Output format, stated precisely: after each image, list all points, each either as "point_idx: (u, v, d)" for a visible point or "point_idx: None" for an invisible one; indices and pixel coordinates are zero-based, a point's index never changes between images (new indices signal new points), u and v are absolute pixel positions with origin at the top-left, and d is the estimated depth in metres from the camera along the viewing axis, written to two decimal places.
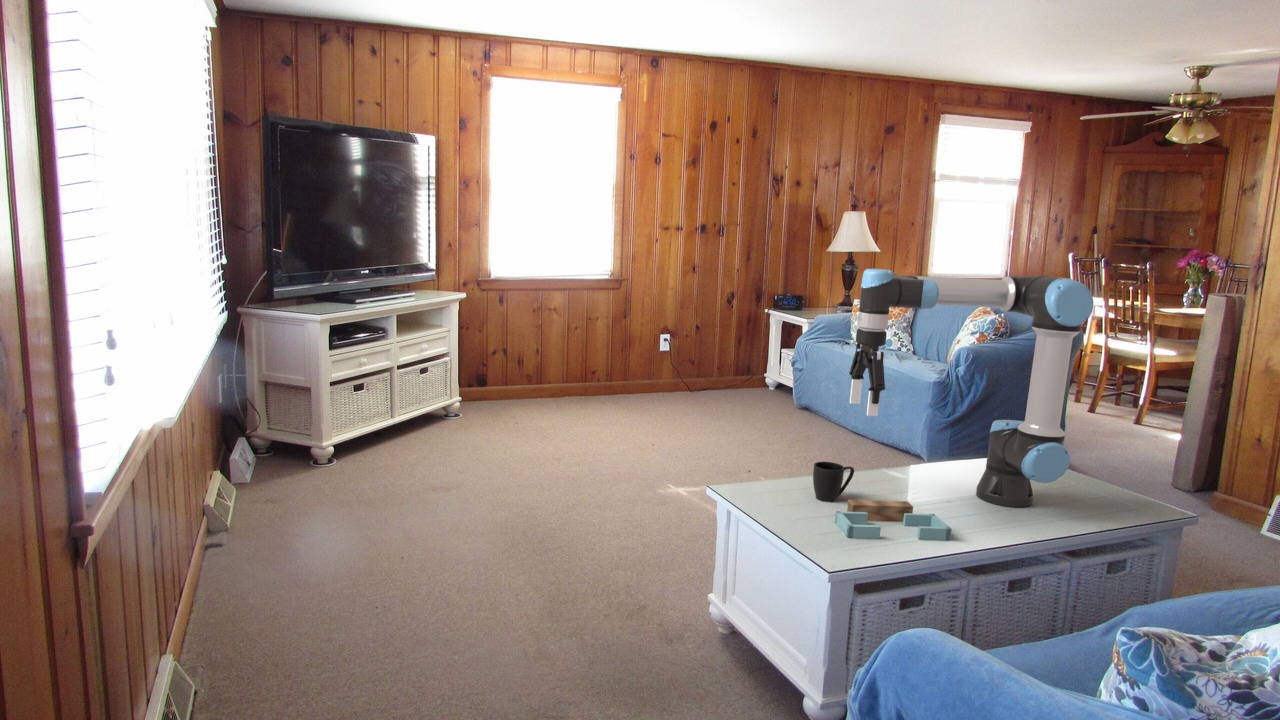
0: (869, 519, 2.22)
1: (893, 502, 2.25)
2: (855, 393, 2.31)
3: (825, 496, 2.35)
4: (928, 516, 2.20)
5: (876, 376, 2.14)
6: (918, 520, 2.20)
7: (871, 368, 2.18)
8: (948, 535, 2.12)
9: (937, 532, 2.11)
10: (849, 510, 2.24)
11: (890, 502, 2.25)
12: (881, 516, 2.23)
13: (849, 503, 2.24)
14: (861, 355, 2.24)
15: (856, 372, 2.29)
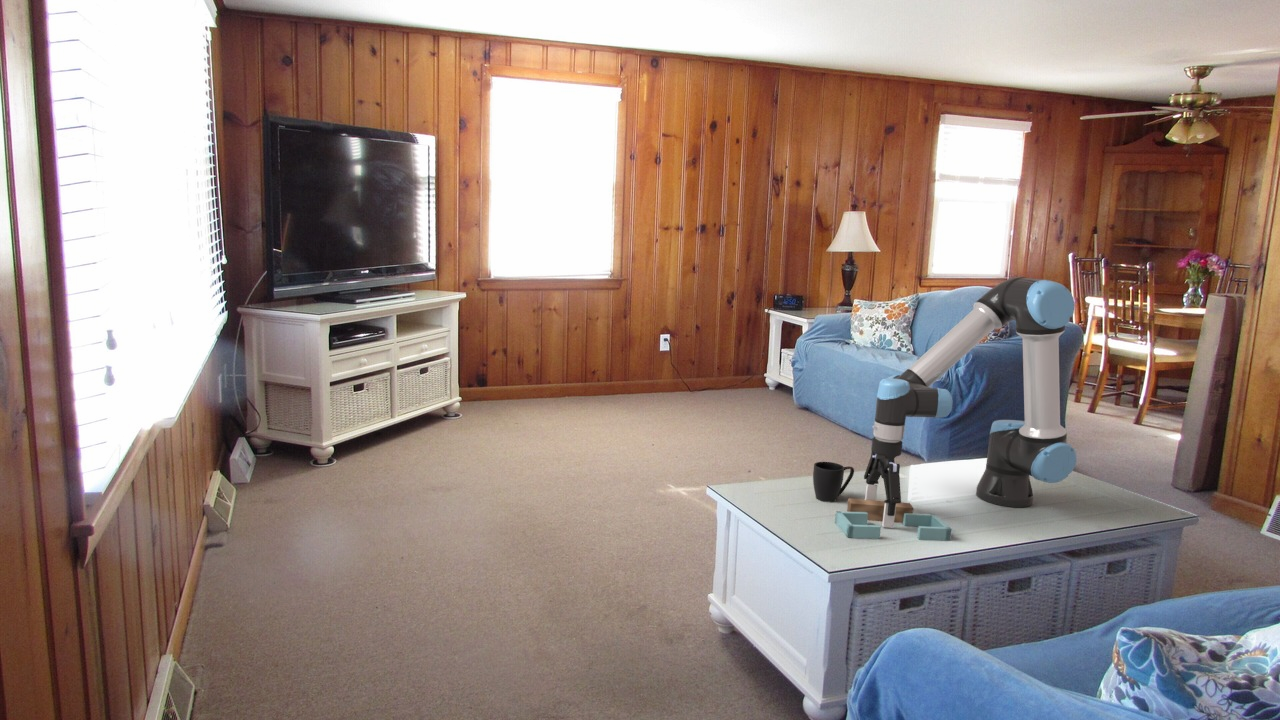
0: None
1: None
2: (869, 499, 2.30)
3: (825, 496, 2.35)
4: (928, 516, 2.20)
5: (892, 489, 2.14)
6: (918, 520, 2.20)
7: (887, 479, 2.18)
8: (948, 535, 2.12)
9: (937, 532, 2.11)
10: (848, 509, 2.25)
11: None
12: (880, 516, 2.23)
13: (848, 502, 2.25)
14: (876, 463, 2.23)
15: (871, 478, 2.29)
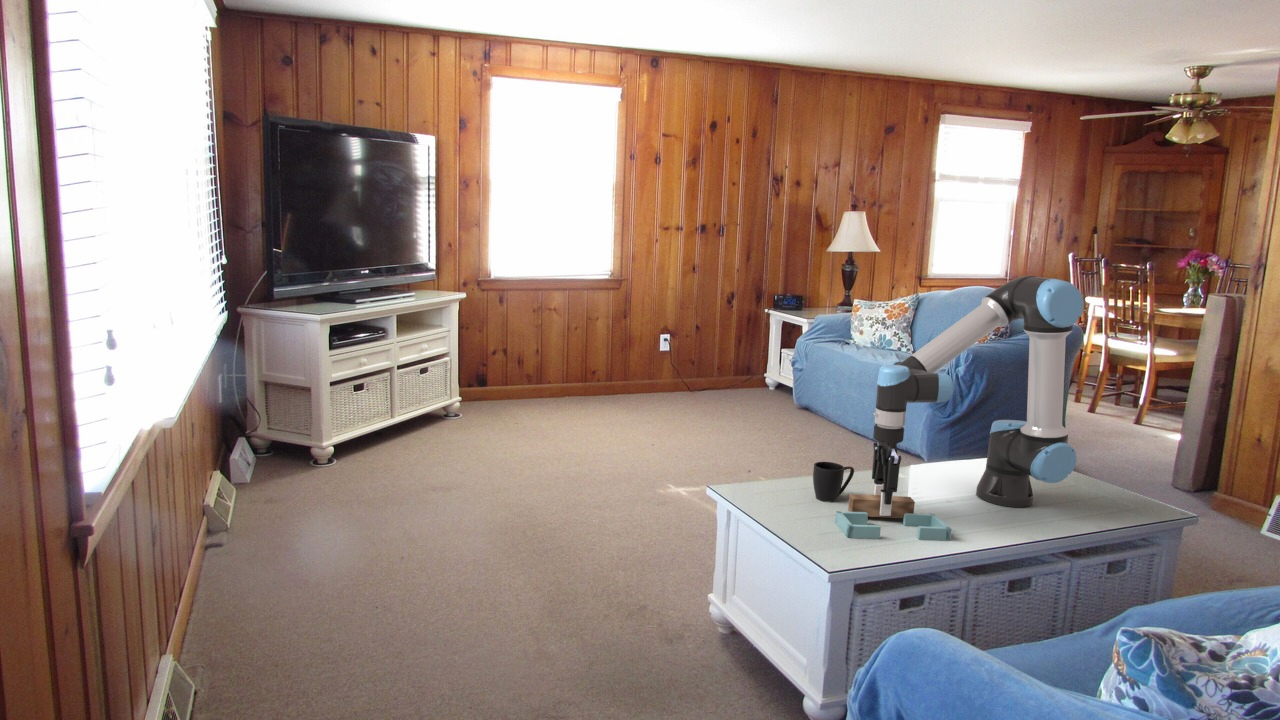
0: (870, 513, 2.23)
1: (895, 497, 2.25)
2: None
3: (825, 496, 2.35)
4: (928, 516, 2.20)
5: (890, 480, 2.17)
6: (918, 520, 2.20)
7: (887, 468, 2.19)
8: (948, 535, 2.12)
9: (937, 532, 2.11)
10: (850, 504, 2.25)
11: (892, 497, 2.25)
12: None
13: (850, 497, 2.25)
14: (879, 450, 2.22)
15: (878, 474, 2.25)
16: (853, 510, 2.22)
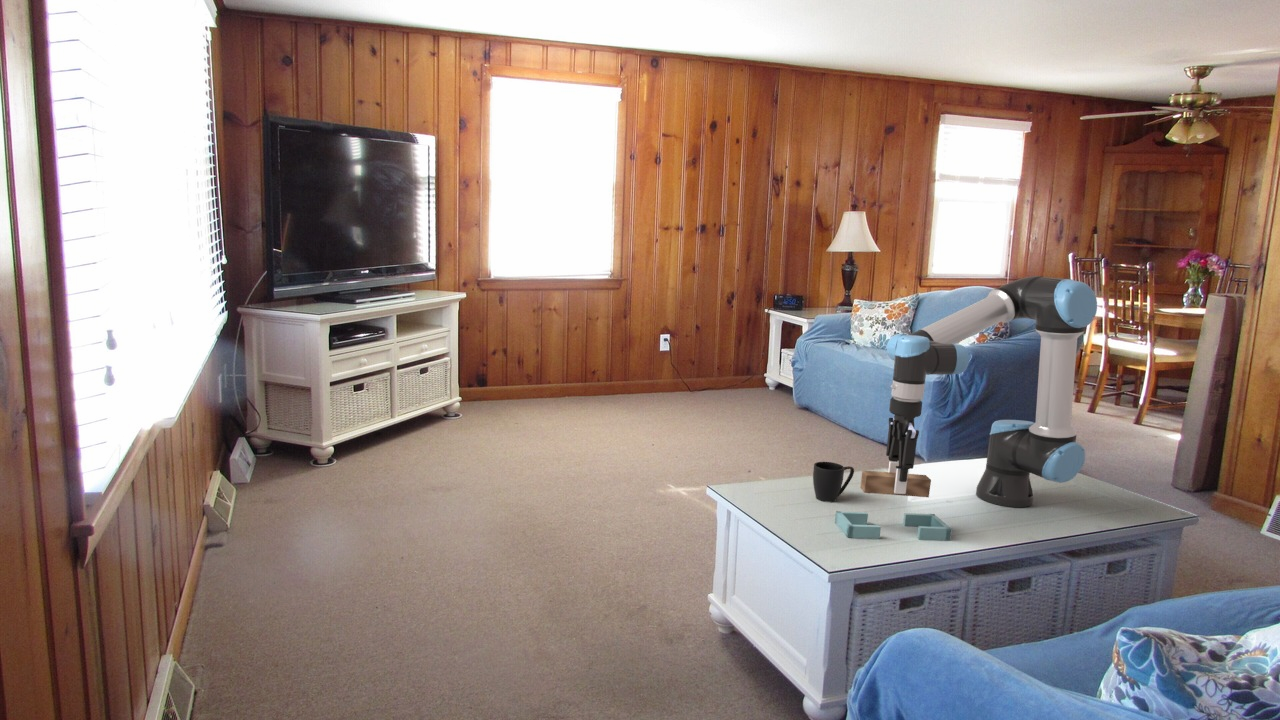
0: (883, 491, 2.12)
1: (910, 475, 2.14)
2: None
3: (825, 496, 2.35)
4: (928, 516, 2.20)
5: (906, 456, 2.06)
6: (918, 520, 2.20)
7: (903, 443, 2.09)
8: (948, 535, 2.12)
9: (937, 532, 2.11)
10: (863, 481, 2.14)
11: None
12: None
13: (863, 474, 2.14)
14: (895, 425, 2.12)
15: (893, 450, 2.15)
16: (866, 487, 2.12)
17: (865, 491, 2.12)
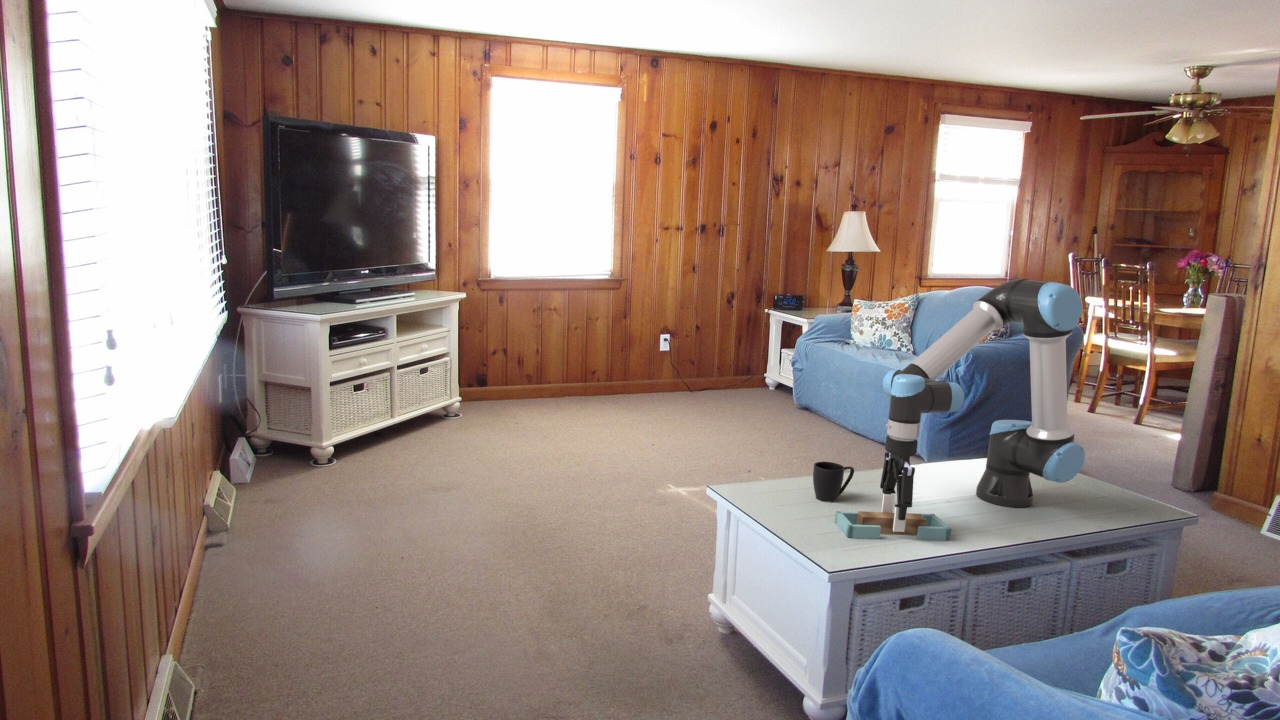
0: (880, 532, 2.14)
1: None
2: (886, 509, 2.19)
3: (825, 496, 2.35)
4: (928, 516, 2.20)
5: (904, 494, 2.07)
6: None
7: (900, 481, 2.10)
8: (948, 535, 2.12)
9: (937, 532, 2.11)
10: (859, 522, 2.16)
11: None
12: (892, 529, 2.14)
13: (859, 515, 2.16)
14: (891, 463, 2.14)
15: (887, 485, 2.17)
16: None
17: None
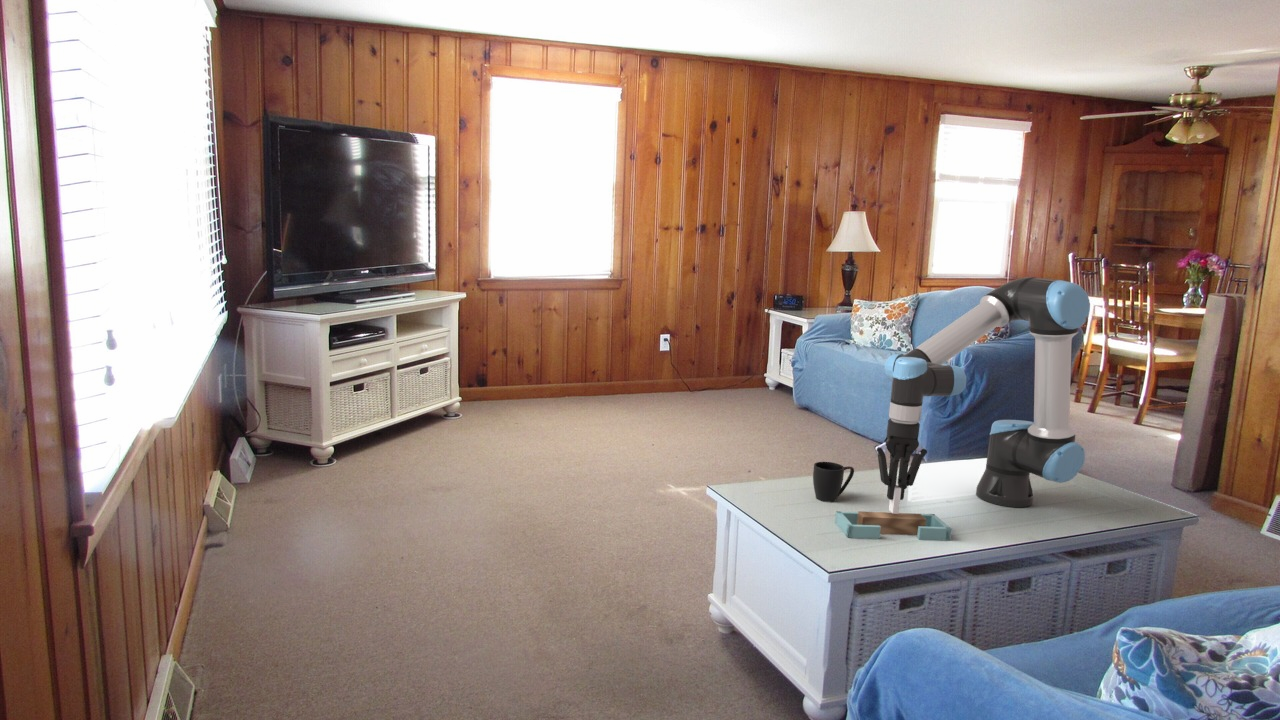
0: (880, 532, 2.14)
1: (905, 514, 2.16)
2: None
3: (825, 496, 2.35)
4: (928, 516, 2.20)
5: (880, 470, 2.14)
6: None
7: (890, 461, 2.13)
8: (948, 535, 2.12)
9: (937, 532, 2.11)
10: (859, 522, 2.15)
11: (902, 514, 2.16)
12: (892, 529, 2.14)
13: (859, 515, 2.16)
14: None
15: (899, 473, 2.14)
16: None
17: None
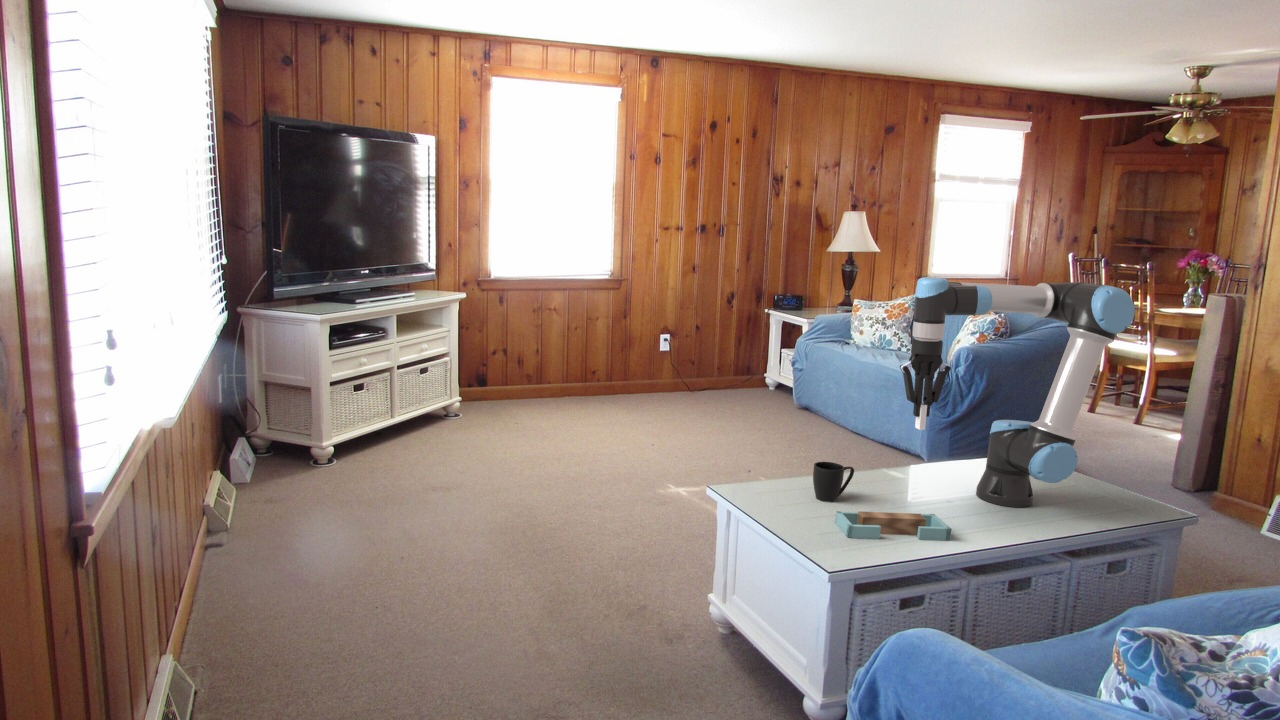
0: (880, 532, 2.14)
1: (905, 514, 2.16)
2: None
3: (825, 496, 2.35)
4: (928, 516, 2.20)
5: (905, 389, 2.21)
6: None
7: (915, 380, 2.21)
8: (948, 535, 2.12)
9: (937, 532, 2.11)
10: (859, 522, 2.15)
11: (902, 514, 2.16)
12: (892, 529, 2.14)
13: (859, 515, 2.16)
14: None
15: (924, 391, 2.21)
16: None
17: None
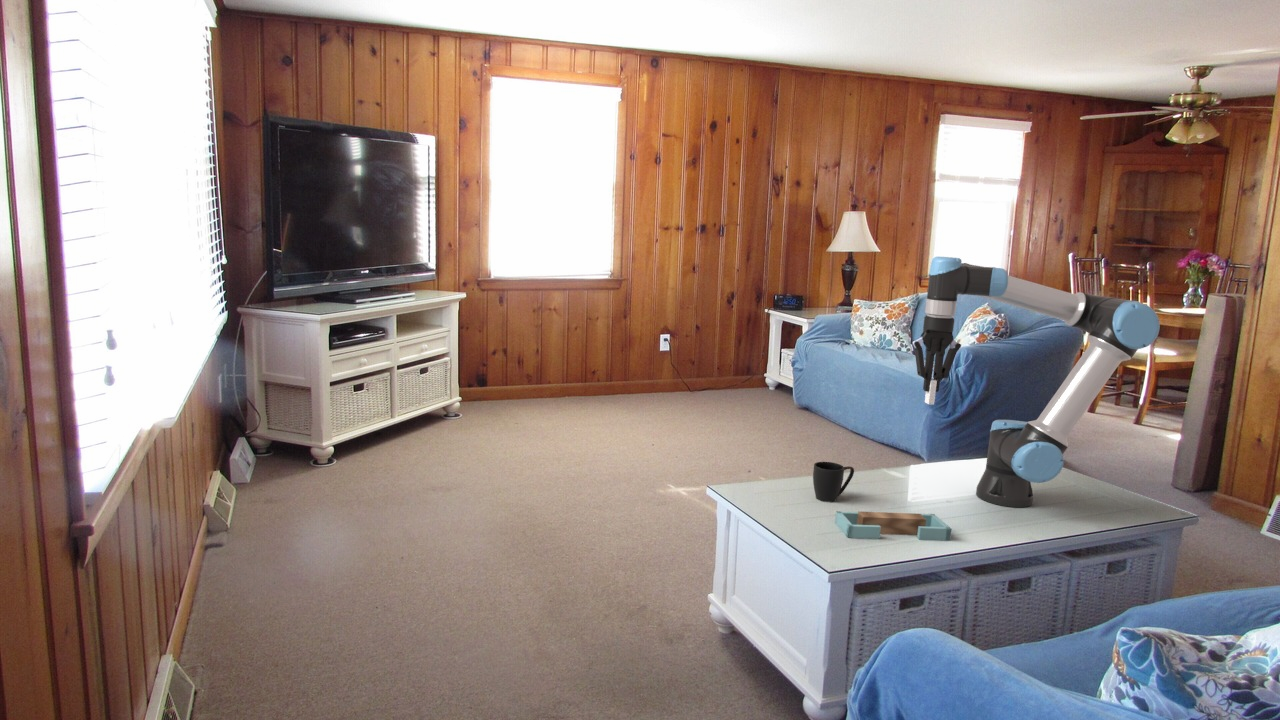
0: (880, 532, 2.14)
1: (905, 514, 2.16)
2: None
3: (825, 496, 2.35)
4: (928, 516, 2.20)
5: (916, 364, 2.28)
6: None
7: (926, 356, 2.28)
8: (948, 535, 2.12)
9: (937, 532, 2.11)
10: (859, 522, 2.15)
11: (902, 514, 2.16)
12: (892, 529, 2.14)
13: (859, 515, 2.16)
14: None
15: (934, 367, 2.29)
16: None
17: None
